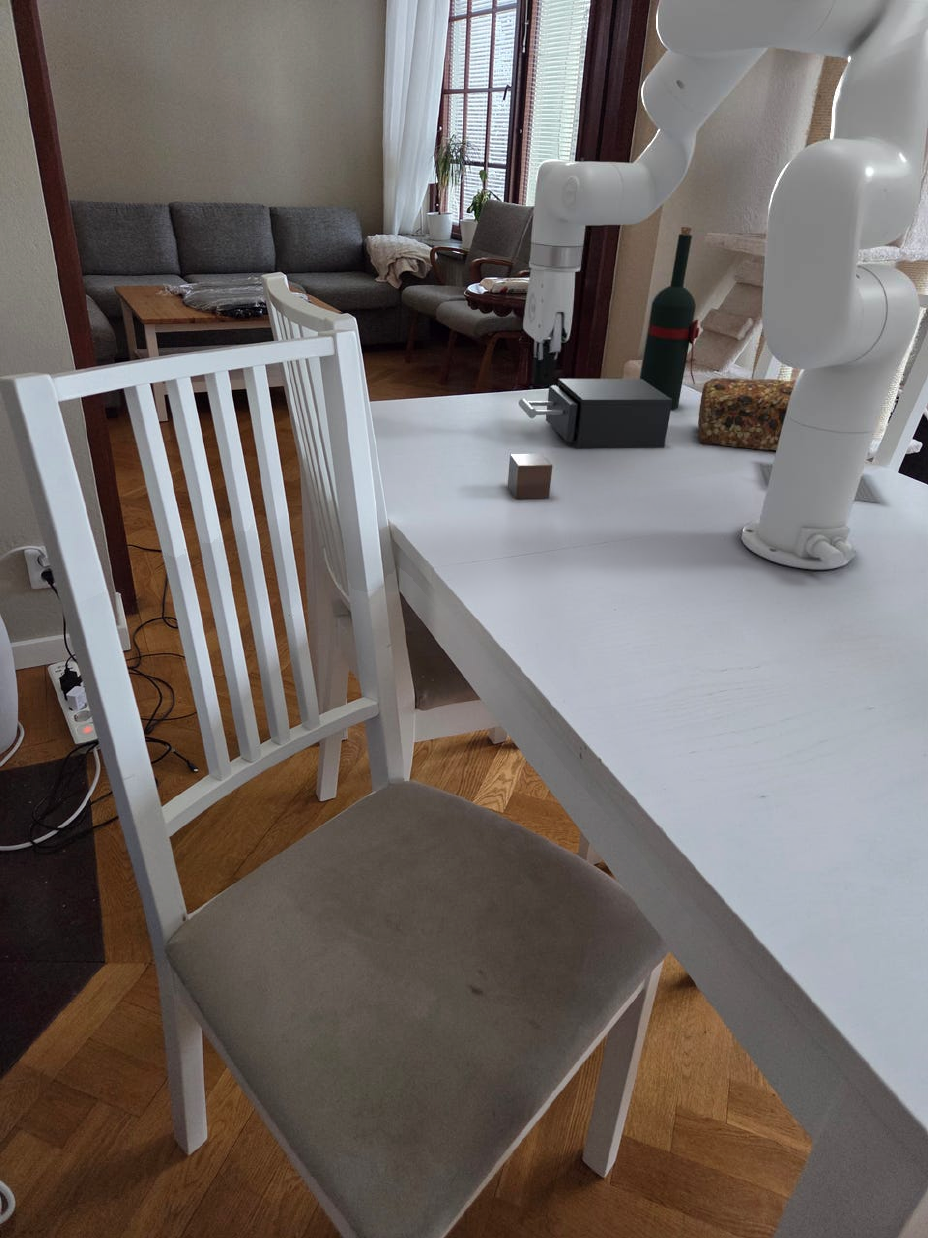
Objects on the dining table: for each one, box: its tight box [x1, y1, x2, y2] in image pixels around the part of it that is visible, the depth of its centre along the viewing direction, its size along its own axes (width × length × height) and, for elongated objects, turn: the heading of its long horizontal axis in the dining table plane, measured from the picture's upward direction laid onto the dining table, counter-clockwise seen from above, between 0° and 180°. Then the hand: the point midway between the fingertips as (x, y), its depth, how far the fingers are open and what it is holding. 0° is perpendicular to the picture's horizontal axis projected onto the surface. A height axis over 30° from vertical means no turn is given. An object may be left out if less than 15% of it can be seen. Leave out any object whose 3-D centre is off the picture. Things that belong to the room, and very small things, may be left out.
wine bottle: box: [638, 225, 700, 411], centre depth 145 cm, size 8×10×30 cm
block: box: [507, 453, 553, 500], centre depth 110 cm, size 5×5×5 cm
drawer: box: [518, 384, 581, 443], centre depth 132 cm, size 19×11×6 cm, turn 101°
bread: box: [697, 377, 796, 451], centre depth 134 cm, size 19×11×10 cm, turn 77°
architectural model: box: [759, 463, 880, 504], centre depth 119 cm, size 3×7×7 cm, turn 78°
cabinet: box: [557, 378, 672, 449], centre depth 133 cm, size 15×13×8 cm
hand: (542, 384), depth 129 cm, fingers closed
